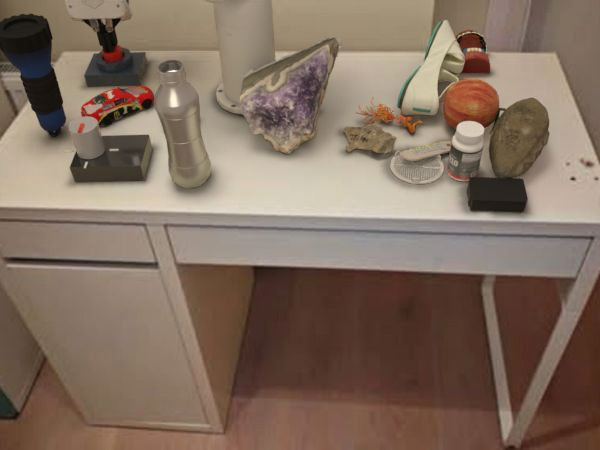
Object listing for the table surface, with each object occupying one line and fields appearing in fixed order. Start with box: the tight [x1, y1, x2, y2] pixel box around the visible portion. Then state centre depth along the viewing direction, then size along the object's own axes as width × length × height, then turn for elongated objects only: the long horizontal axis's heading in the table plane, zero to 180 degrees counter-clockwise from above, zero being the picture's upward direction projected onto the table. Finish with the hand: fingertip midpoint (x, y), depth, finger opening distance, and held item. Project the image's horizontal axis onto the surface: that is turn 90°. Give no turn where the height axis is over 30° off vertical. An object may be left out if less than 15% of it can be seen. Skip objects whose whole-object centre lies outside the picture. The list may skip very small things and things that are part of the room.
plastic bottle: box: [153, 58, 212, 189], centre depth 95 cm, size 6×7×20 cm
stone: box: [488, 97, 550, 178], centre depth 100 cm, size 17×9×8 cm, turn 156°
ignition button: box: [101, 44, 123, 62], centre depth 122 cm, size 4×4×2 cm
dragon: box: [355, 97, 424, 134], centre depth 109 cm, size 4×11×4 cm, turn 68°
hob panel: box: [63, 134, 153, 183], centre depth 104 cm, size 13×9×3 cm
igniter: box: [83, 46, 148, 88], centre depth 124 cm, size 10×8×4 cm
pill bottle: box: [446, 121, 485, 182], centre depth 98 cm, size 5×5×8 cm
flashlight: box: [0, 13, 67, 138], centre depth 105 cm, size 8×8×20 cm
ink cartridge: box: [466, 176, 529, 214], centre depth 96 cm, size 5×2×8 cm
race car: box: [80, 85, 155, 127], centre depth 115 cm, size 13×5×4 cm, turn 127°
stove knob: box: [67, 116, 105, 159], centre depth 101 cm, size 4×4×5 cm
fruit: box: [442, 78, 507, 135], centre depth 106 cm, size 9×10×10 cm
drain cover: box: [389, 150, 445, 185], centre depth 102 cm, size 8×8×1 cm
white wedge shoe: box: [396, 19, 465, 116], centre depth 115 cm, size 8×24×8 cm
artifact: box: [342, 121, 397, 154], centre depth 106 cm, size 7×3×10 cm
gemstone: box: [240, 36, 343, 155], centre depth 105 cm, size 18×16×14 cm
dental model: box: [455, 29, 491, 74], centre depth 122 cm, size 7×5×10 cm
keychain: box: [401, 140, 452, 162], centre depth 104 cm, size 10×1×3 cm
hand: (110, 48), depth 121 cm, fingers closed
